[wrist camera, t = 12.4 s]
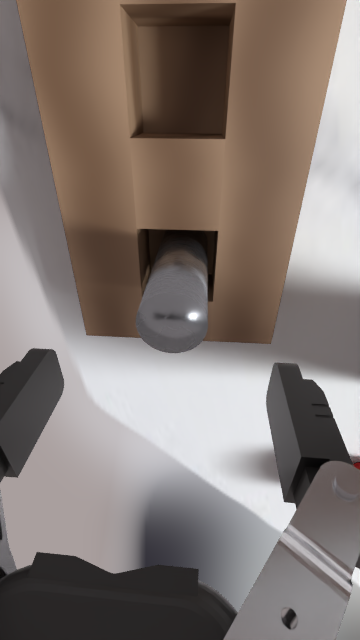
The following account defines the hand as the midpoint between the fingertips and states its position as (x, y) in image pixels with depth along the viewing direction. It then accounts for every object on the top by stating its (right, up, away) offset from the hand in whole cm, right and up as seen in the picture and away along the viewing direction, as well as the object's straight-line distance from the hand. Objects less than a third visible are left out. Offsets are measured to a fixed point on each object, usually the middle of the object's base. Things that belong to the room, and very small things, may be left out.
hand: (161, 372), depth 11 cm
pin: (+1, +7, +10) cm, 13 cm away
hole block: (+1, +12, +9) cm, 15 cm away
